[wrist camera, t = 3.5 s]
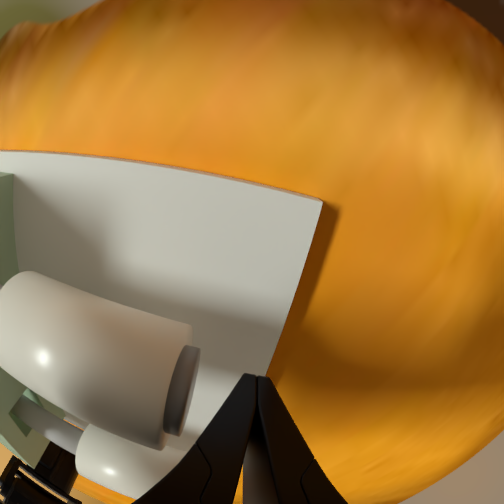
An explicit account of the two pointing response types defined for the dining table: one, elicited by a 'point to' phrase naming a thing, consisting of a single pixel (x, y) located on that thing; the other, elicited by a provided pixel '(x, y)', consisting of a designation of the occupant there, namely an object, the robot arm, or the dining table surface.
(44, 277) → the knob
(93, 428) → the knob
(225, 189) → the mount
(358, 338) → the dining table surface
